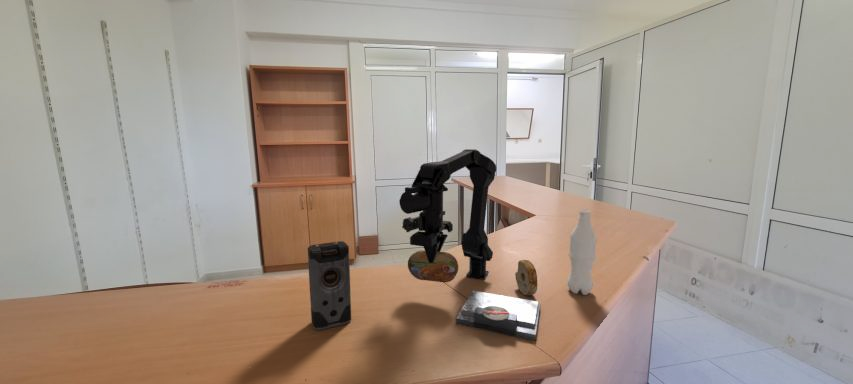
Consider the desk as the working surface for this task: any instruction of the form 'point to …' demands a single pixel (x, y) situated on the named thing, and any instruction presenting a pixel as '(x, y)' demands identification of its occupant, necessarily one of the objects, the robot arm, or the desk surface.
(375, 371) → the desk surface
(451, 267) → the tin
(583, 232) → the water bottle
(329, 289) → the electronic device
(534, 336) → the dial scale
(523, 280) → the stone disc
